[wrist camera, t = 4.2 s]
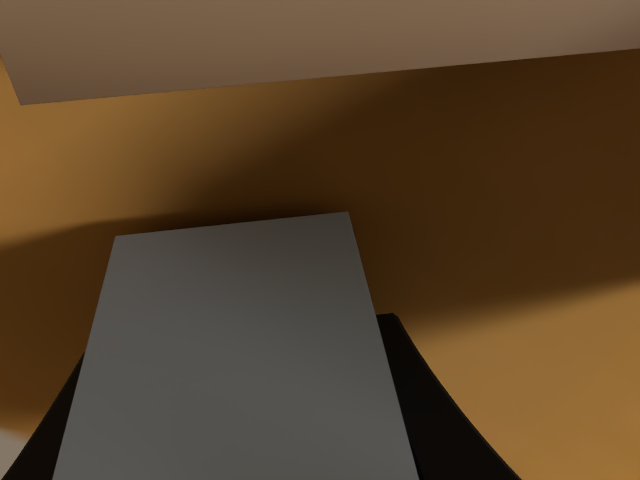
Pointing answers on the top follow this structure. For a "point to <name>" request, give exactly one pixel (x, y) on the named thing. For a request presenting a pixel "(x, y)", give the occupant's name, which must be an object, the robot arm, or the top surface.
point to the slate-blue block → (236, 361)
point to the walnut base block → (282, 40)
